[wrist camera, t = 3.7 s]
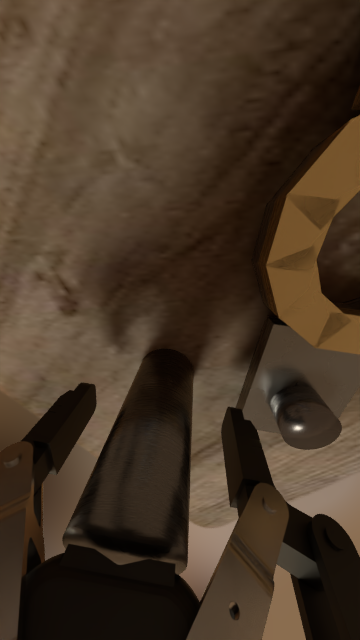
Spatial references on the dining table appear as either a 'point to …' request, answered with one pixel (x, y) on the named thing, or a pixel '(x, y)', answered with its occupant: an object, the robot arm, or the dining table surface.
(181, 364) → the pin
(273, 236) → the tan piece
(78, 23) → the dining table surface
